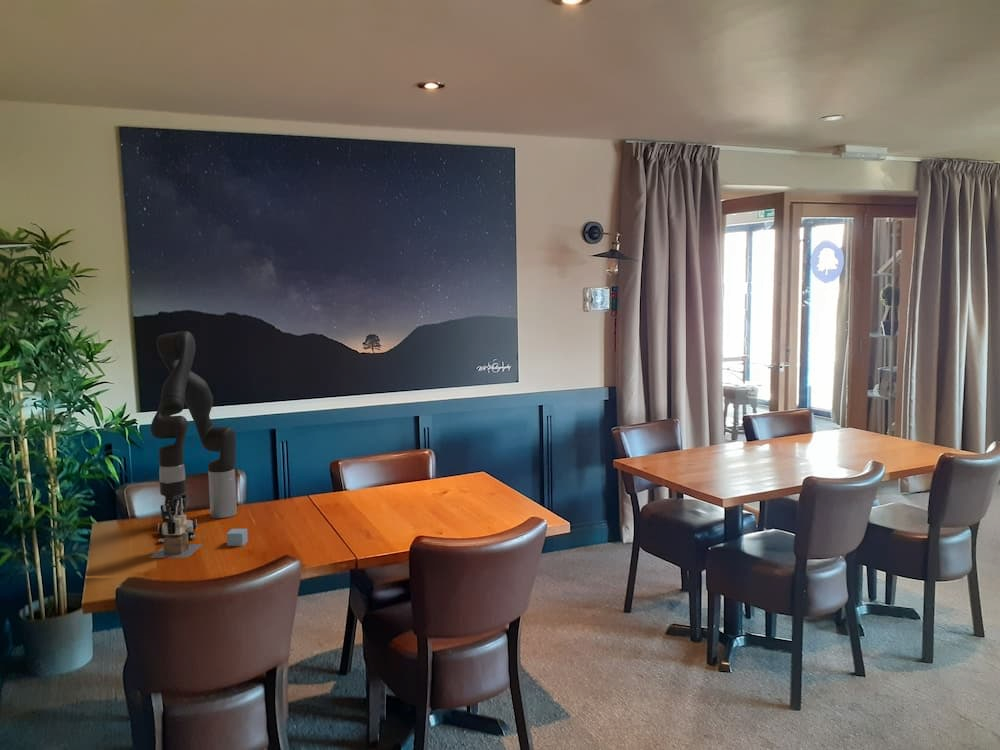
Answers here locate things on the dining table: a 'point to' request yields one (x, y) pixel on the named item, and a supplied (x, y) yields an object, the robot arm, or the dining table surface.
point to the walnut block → (175, 543)
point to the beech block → (177, 525)
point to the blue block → (237, 537)
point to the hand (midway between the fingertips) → (175, 530)
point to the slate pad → (185, 554)
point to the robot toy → (190, 528)
